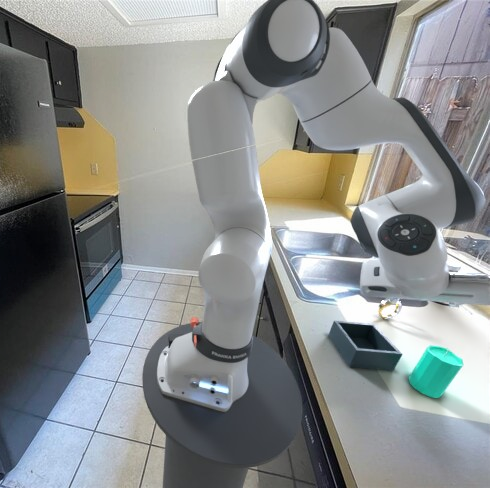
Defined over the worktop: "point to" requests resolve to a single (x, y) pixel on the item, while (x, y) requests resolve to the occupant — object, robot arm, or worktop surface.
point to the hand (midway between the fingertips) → (422, 301)
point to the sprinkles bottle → (453, 267)
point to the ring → (382, 306)
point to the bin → (364, 346)
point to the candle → (435, 371)
